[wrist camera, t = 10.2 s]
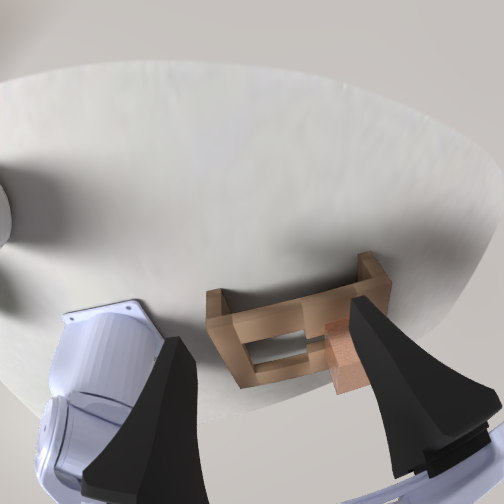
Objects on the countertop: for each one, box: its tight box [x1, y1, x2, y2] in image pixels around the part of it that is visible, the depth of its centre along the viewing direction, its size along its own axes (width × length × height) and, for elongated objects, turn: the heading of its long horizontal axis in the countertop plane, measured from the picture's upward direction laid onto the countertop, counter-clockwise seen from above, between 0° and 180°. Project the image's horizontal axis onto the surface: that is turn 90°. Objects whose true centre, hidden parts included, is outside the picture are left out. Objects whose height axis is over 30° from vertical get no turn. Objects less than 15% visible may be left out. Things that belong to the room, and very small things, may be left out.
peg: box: [324, 317, 370, 395], centre depth 22 cm, size 4×5×7 cm
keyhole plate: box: [206, 251, 392, 389], centre depth 24 cm, size 14×10×4 cm
